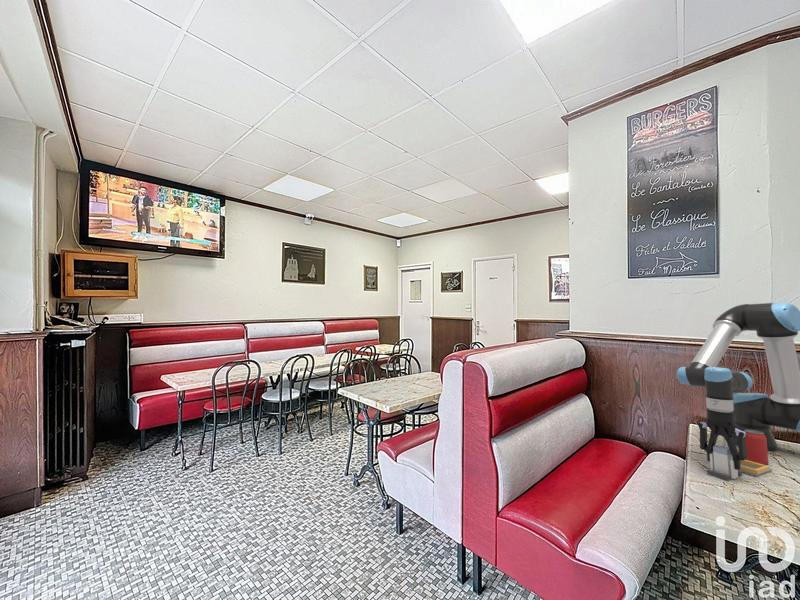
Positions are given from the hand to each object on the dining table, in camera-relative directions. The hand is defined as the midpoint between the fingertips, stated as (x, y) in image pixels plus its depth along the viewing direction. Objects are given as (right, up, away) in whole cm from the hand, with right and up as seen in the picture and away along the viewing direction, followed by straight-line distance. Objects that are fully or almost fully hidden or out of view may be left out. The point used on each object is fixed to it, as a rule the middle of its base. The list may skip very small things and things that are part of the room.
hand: (724, 474), depth 125 cm
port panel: (+13, -1, +6) cm, 14 cm away
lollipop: (+17, -2, +17) cm, 24 cm away
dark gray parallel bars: (0, 0, 0) cm, 0 cm away
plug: (0, 0, 0) cm, 0 cm away
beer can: (+24, -1, +11) cm, 26 cm away
